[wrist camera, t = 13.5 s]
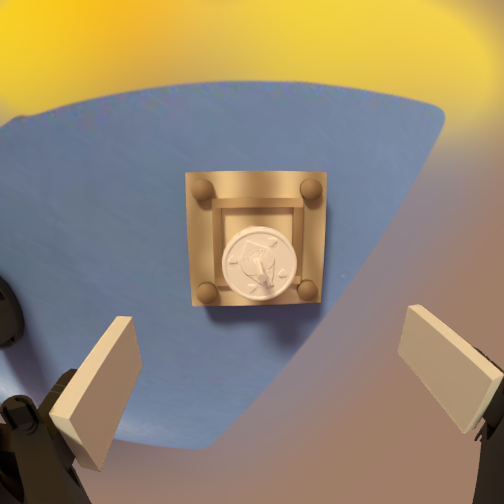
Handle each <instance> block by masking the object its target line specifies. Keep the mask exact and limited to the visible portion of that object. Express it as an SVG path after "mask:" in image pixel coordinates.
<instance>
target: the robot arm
mask: <svg viewBox="0 0 504 504" xmlns="http://www.w3.org/2000/svg"><path fill="white" fill-rule="evenodd" d="M23 331H24V322H23V316H22V312H21V309H20V306H19V303H18V301H17V299H16V297H15V295H14V293H13V292H12V290H11V289H10V287H9V286H8V284H7V283H6V282H5V281H4V280H3V279H2V278H1V277H0V350H2V349H5V348H9V347H11V346H13V345H15V344H16V343H17V342H18V341H19V340H20V339H21V337H22V335H23ZM398 354H399V355H400V356H401V357H402V358H403V360H404V361H405V362H406V363H407V364H408V365H409V367H410V368H411V369H412V370H413V372H414V373H415V374H416V375H417V376H418V378H419V379H420V380H421V381H422V382H423V384H424V385H425V386H426V387H427V389H428V390H429V391H430V392H431V393H432V395H433V396H434V397H435V398H436V400H437V401H438V402H439V403H440V405H441V406H442V407H443V408H444V410H445V411H446V412H447V414H448V415H449V416H450V417H451V419H452V420H453V421H454V422H455V424H456V425H457V426H458V428H459V429H460V430H461V432H462V433H463V434H464V433H466V432H468V431H470V430H472V429H474V428H476V426H477V425H478V423H479V421H480V420H481V418H482V417H483V418H484V419H485V423H484V425H483V426H482V428H481V429H480V431H479V433H478V434H477V436H476V437H475V441H477V439H478V438H479V436H480V435H482V438H481V439H480V442H481V453H480V462H479V469H478V476H477V482H476V488H475V493H474V498H473V503H472V504H504V371H503V370H502V369H501V368H500V367H498V366H497V365H496V364H495V363H494V362H493V361H490V359H489V358H488V357H487V356H485V355H484V354H483V353H482V352H481V351H480V350H479V349H477V348H475V347H473V346H471V345H469V344H468V343H467V342H466V341H465V340H463V339H462V338H461V337H460V336H459V335H457V334H456V333H455V332H454V331H452V330H451V329H450V328H449V327H447V326H446V325H445V324H444V323H442V322H441V321H440V320H439V319H437V318H436V317H435V316H434V315H432V314H431V313H430V312H429V311H427V310H426V309H425V308H423V307H422V306H421V305H413V306H408V309H407V314H406V319H405V323H404V328H403V332H402V337H401V340H400V344H399V348H398ZM141 369H142V361H141V357H140V352H139V348H138V343H137V338H136V333H135V328H134V323H133V317H125V316H117V317H116V319H115V320H114V321H113V323H112V324H111V325H110V327H109V328H108V329H107V331H106V332H105V333H104V335H103V336H102V337H101V339H100V340H99V341H98V343H97V344H96V345H95V347H94V348H93V349H92V351H91V352H90V354H89V355H88V356H87V358H86V359H85V361H84V362H83V363H82V365H81V366H80V368H79V369H78V370H77V369H70V370H69V371H67V372H66V373H64V374H63V375H62V376H61V377H60V378H59V380H58V381H57V382H56V385H54V387H53V388H52V389H51V392H49V394H48V395H47V396H46V398H45V399H44V401H43V402H42V403H41V405H40V406H39V408H38V409H36V407H35V405H34V403H33V401H32V399H31V398H29V397H28V396H25V395H14V396H12V397H9V398H8V399H6V400H5V401H4V402H3V403H2V405H1V407H0V414H1V416H2V417H3V419H4V420H5V422H6V424H2V423H0V504H92V503H91V502H90V500H89V498H88V496H87V494H86V492H85V490H84V488H83V486H82V484H81V482H80V480H79V477H78V476H77V473H76V471H75V469H74V468H73V466H72V463H73V461H74V459H75V458H76V460H77V461H78V463H79V464H80V465H81V467H84V468H88V469H91V470H95V471H99V472H101V469H102V466H103V464H104V461H105V458H106V455H107V453H108V450H109V447H110V445H111V442H112V439H113V437H114V434H115V432H116V429H117V427H118V424H119V422H120V419H121V416H122V414H123V412H124V409H125V407H126V404H127V402H128V399H129V397H130V394H131V392H132V390H133V387H134V385H135V383H136V380H137V378H138V376H139V373H140V371H141Z"/></svg>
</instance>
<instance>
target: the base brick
mask: <svg viewBox="0 0 504 504" xmlns="http://www.w3.org/2000/svg"><path fill="white" fill-rule="evenodd" d="M326 181H327V173H325V172H298V171H218V172H191V173H186V209H187V232H188V251H189V267H190V280H191V293H192V305H193V306H244V305H277V304H300V303H319V302H321V291H322V277H323V262H324V245H325V222H326ZM248 226H259V227H262V226H263V227H267V228H272V229H274V230H276V231H278V232H280V233H282V234H283V235H284V236H285V237H286V238H287V239H288V240H289V242H290V243H291V245H292V247H293V249H294V251H295V254H296V259H297V269H296V274H295V277H294V279H293V281H292V283H291V284H290V285H289V287H288V288H287V289H286V290H285V291H284V292H282V293H281V294H280V295H278V296H276V297H274V298H271V299H268V300H262V301H256V300H249V299H246V298H243V297H241V296H240V295H238V294H236V293H235V292H234V291H233V290H232V289H231V288H230V287H229V285H228V284H227V282H226V280H225V278H224V275H223V271H222V257H223V252H224V250H225V248H226V246H227V244H228V242H229V241H230V240H231V239H232V238H233V237H234V236H235V235H236V234H238V233H239V232H241V231H242V230H243V229H244V228H246V227H248Z"/></svg>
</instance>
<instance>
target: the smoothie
mask: <svg viewBox="0 0 504 504" xmlns="http://www.w3.org/2000/svg"><path fill="white" fill-rule="evenodd" d="M296 269H297V259H296V254H295V251H294V249H293V247H292V245H291V243H290V242H289V240H288V239H287V238H286V237H285V236H284V235H283V234H282V233H280V232H278V231H276V230H274V229H272V228H267V227H263V226H262V227H259V226H248V227H246V228H244V229H243V230H242V231H241V232H239V233H238V234H236V235H235V236H234V237H233V238H232V239H231V240H230V241H229V242H228V244H227V246H226V248H225V250H224V252H223V257H222V271H223V275H224V278H225V280H226V282H227V284H228V285H229V287H230V288H231V289H232V290H233V291H234V292H235V293H236V294H238V295H240V296H241V297H243V298H246V299H249V300H256V301H262V300H268V299H271V298H274V297H276V296H278V295H280V294H281V293H282V292H284V291H285V290H286V289H287V288H288V287H289V285H290V284H291V283H292V281H293V279H294V277H295V274H296Z"/></svg>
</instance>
